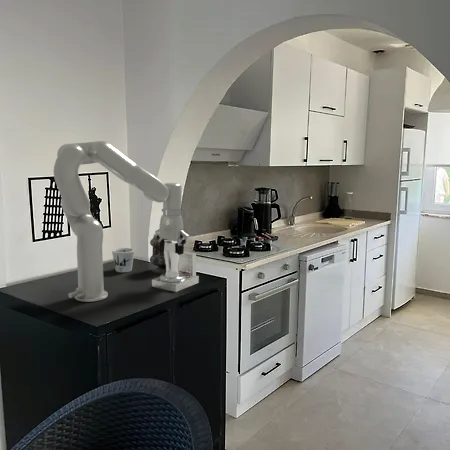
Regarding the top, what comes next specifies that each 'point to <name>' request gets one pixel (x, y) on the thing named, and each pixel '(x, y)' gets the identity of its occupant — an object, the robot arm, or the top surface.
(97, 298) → the robot arm
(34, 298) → the top surface
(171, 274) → the beer glass
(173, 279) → the scale pan
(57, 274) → the top surface
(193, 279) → the scale
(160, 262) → the apothecary jar
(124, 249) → the mug
